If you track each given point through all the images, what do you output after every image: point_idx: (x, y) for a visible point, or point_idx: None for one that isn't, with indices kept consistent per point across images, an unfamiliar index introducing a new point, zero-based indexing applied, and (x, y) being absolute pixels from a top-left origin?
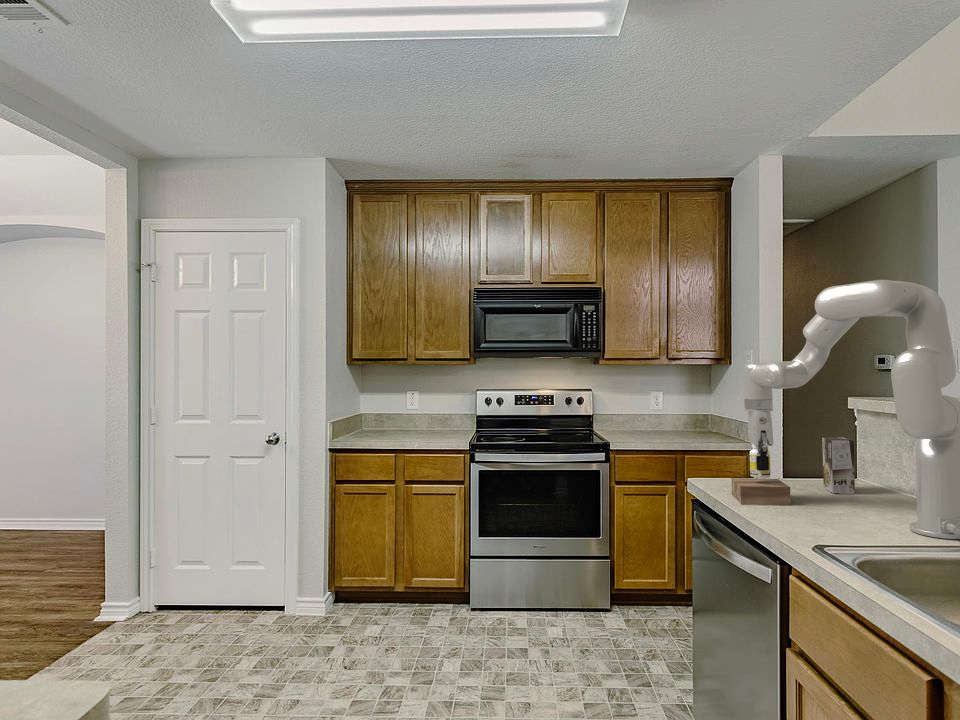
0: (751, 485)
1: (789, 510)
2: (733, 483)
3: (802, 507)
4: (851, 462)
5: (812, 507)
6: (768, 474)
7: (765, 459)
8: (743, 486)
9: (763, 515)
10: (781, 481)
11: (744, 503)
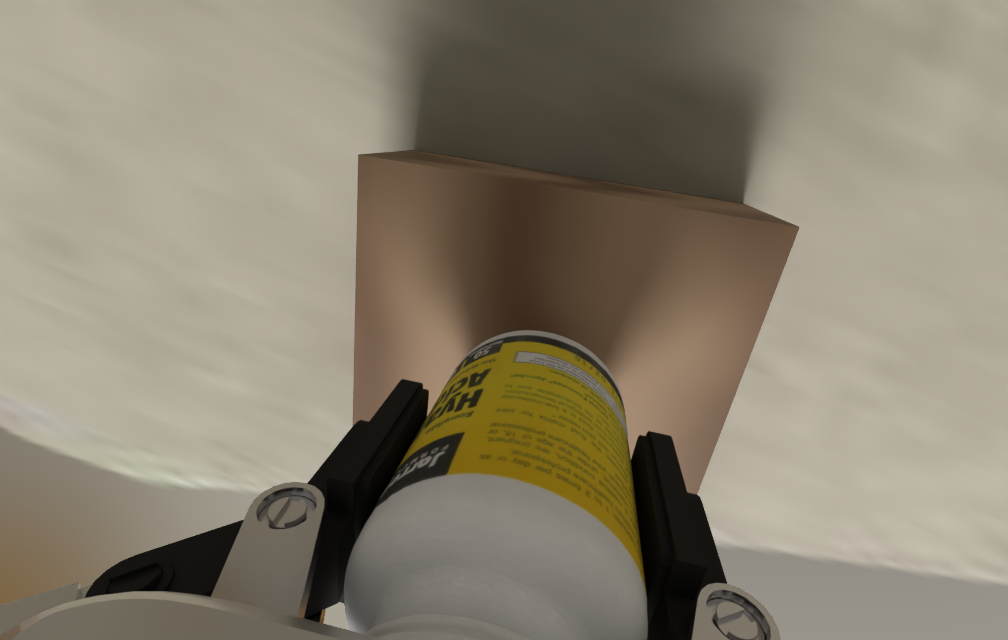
0: None
1: (893, 283)
2: None
3: (830, 145)
4: None
5: (854, 61)
6: (615, 386)
7: (720, 580)
8: None
9: (966, 485)
10: (497, 180)
11: None
